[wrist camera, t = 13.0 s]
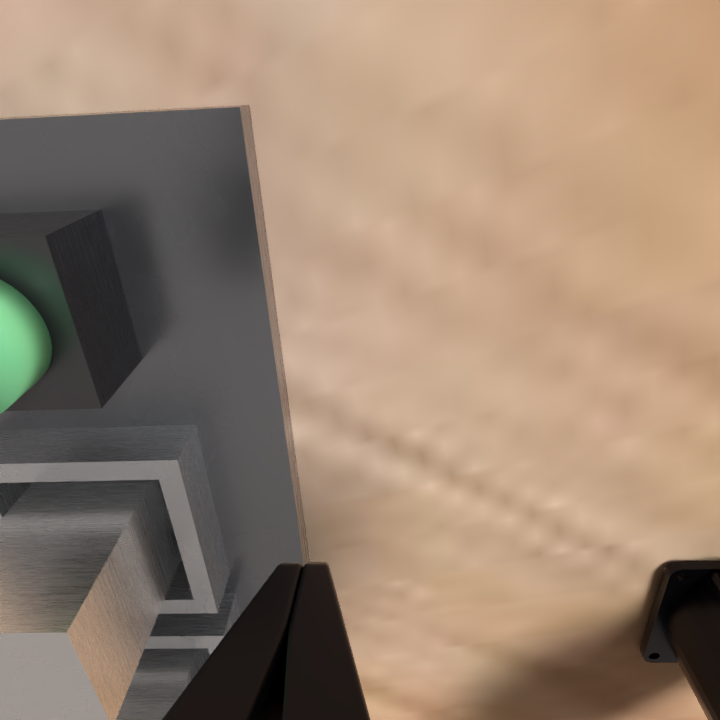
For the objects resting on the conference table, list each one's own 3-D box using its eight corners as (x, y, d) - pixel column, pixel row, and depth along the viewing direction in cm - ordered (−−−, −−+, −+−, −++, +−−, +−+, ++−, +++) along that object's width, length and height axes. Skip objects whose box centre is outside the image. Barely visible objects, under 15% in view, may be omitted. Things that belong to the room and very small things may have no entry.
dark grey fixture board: (325, 684, 28) (318, 776, 25) (70, 685, 29) (25, 775, 25) (249, 105, 15) (208, 113, 11) (-214, 129, 16) (-394, 144, 12)
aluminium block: (186, 544, 22) (112, 727, 16) (83, 546, 22) (-31, 728, 16) (162, 460, 20) (66, 632, 14) (49, 463, 20) (-97, 634, 14)
